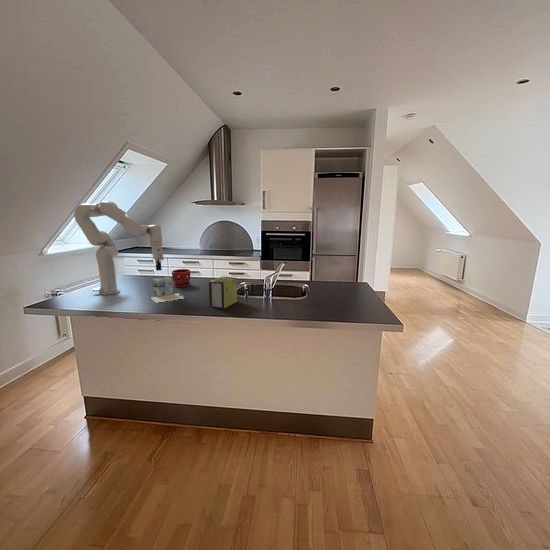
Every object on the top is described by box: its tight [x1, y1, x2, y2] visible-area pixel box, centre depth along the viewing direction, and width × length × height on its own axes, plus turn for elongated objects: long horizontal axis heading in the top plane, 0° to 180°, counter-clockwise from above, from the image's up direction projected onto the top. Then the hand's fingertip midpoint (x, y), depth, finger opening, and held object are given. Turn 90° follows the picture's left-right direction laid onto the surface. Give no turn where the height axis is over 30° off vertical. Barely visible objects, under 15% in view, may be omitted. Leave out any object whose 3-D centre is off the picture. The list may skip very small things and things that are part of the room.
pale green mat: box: [150, 292, 185, 304], centre depth 188 cm, size 18×14×1 cm
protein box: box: [208, 275, 238, 309], centre depth 177 cm, size 10×15×16 cm
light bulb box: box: [152, 277, 174, 297], centre depth 195 cm, size 11×7×11 cm, turn 143°
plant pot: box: [171, 268, 191, 288], centre depth 219 cm, size 13×13×12 cm
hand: (158, 270), depth 201 cm, fingers closed
